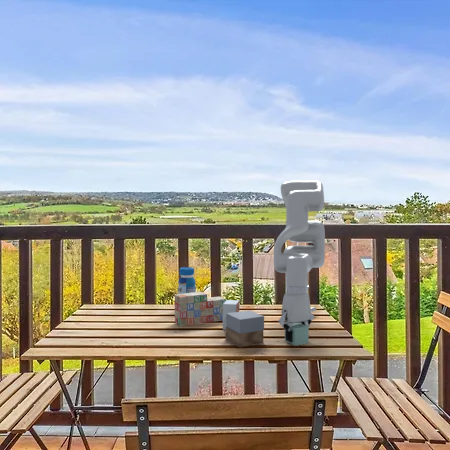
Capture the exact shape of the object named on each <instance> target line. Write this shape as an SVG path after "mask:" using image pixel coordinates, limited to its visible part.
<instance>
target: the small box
mask: <svg viewBox="0 0 450 450" xmlns="http://www.w3.org/2000/svg"><path fill="white" fill-rule="evenodd" d="M234 312H240V300H238V299H237V300H233V299H226V301H225V303H224V304H223V320H222V330H224V331H225V327H226V313H234Z"/></svg>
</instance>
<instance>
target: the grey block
mask: <svg viewBox="0 0 450 450" xmlns="http://www.w3.org/2000/svg"><path fill="white" fill-rule="evenodd" d="M226 327H228V328H230V329H231V330H233V331H235V332H237V333H239V334H242V333H248V332H255V331H262V330H263V331H264V330H265V316H264V315H262V314H259V313H257V312H255V311H253V310H242V311H239V312H234V313H226Z"/></svg>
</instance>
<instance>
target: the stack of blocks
mask: <svg viewBox="0 0 450 450" xmlns="http://www.w3.org/2000/svg"><path fill="white" fill-rule="evenodd" d="M226 300H227V299H226V298H224V297H222V296H213V297H212V296H210V297H208V294H207V293H205V292H202V291H196V292H193V293H185V294H178V293H177V294H176V293H175V294H174V323H175V324H176V325H178V326H179V327H184V326H193V325H200V324H201V325H202V324H206V323H213V322H219V321H223V304H224V303H225V301H226Z"/></svg>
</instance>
